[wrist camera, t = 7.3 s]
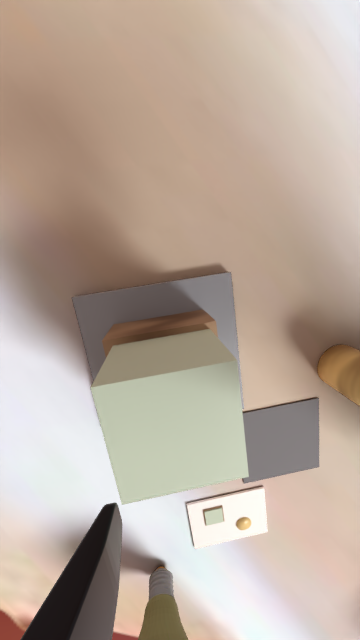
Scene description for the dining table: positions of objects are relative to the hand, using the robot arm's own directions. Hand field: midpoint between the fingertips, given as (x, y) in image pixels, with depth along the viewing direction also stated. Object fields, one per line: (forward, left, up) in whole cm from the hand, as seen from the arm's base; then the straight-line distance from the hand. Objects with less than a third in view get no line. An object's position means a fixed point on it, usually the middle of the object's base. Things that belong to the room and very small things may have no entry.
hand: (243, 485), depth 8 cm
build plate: (+2, -1, -12) cm, 12 cm away
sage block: (+2, -1, -7) cm, 8 cm away
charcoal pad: (-7, +10, -12) cm, 17 cm away
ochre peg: (-13, +3, -12) cm, 18 cm away
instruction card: (-1, +18, -12) cm, 22 cm away
